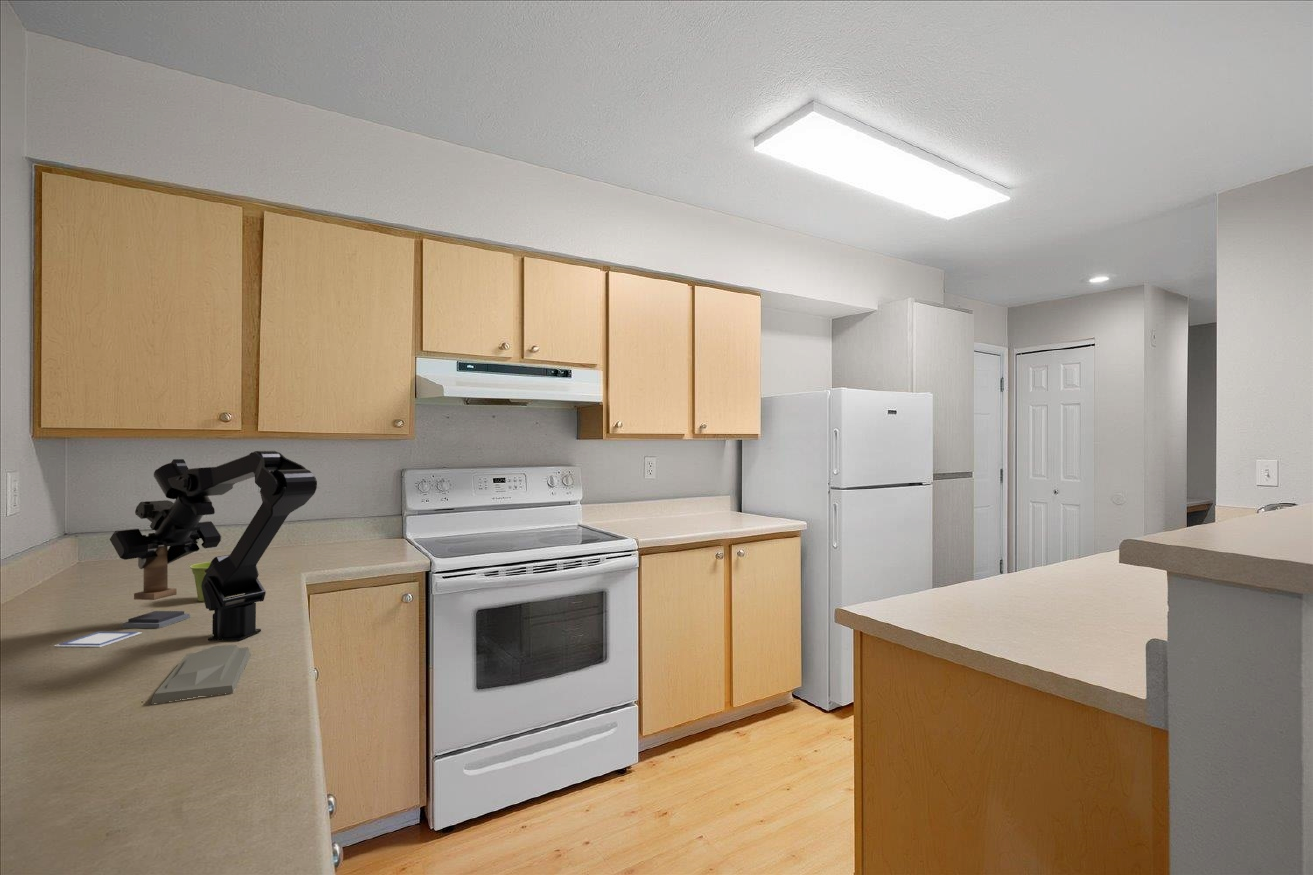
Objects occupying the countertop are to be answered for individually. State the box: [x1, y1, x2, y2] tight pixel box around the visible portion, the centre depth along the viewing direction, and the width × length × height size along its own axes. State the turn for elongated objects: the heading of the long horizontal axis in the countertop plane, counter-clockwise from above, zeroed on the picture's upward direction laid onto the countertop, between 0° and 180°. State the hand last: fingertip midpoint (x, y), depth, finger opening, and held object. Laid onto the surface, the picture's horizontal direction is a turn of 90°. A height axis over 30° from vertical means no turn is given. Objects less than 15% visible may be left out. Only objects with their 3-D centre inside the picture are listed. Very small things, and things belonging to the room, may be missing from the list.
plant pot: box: [189, 561, 228, 602], centre depth 154 cm, size 9×9×9 cm
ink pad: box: [121, 610, 191, 629], centre depth 132 cm, size 8×8×2 cm
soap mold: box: [150, 644, 251, 705], centre depth 100 cm, size 10×20×4 cm, turn 26°
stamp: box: [133, 546, 177, 601], centre depth 132 cm, size 5×5×12 cm
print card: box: [53, 631, 143, 648], centre depth 120 cm, size 9×9×1 cm
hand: (151, 565), depth 133 cm, fingers closed on stamp, 4 cm apart
